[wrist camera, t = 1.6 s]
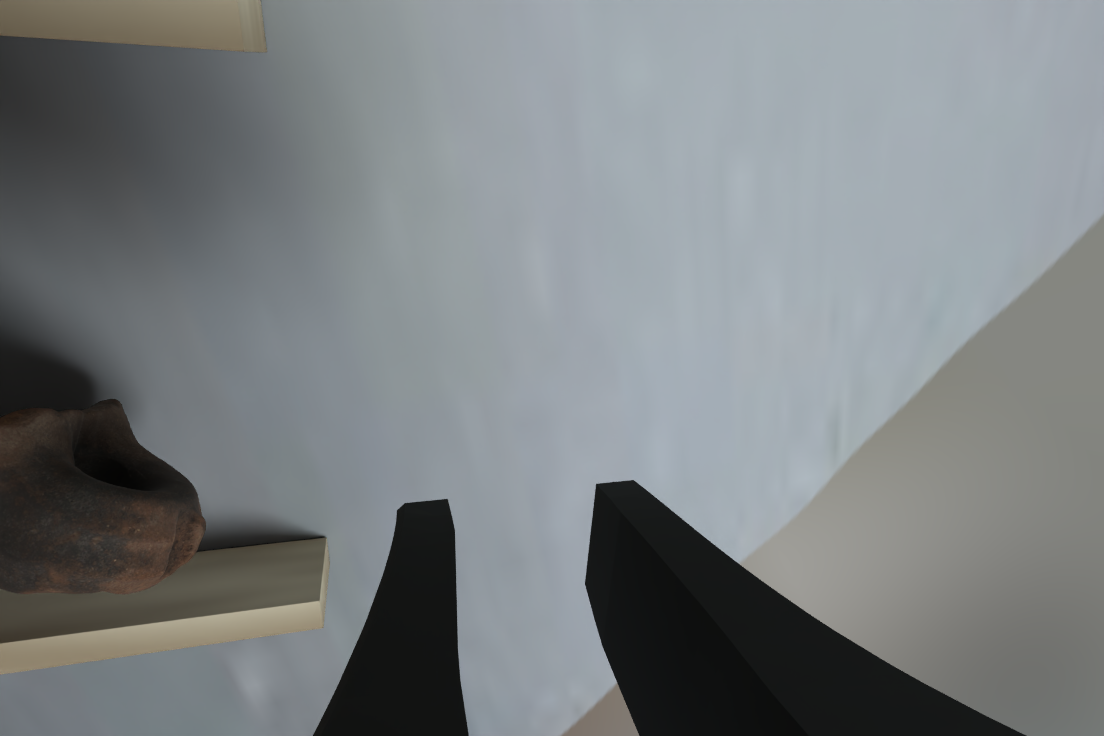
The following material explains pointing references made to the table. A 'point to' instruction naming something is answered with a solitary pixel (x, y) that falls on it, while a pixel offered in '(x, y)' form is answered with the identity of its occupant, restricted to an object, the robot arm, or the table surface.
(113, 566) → the pottery mug
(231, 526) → the table surface
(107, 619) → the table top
